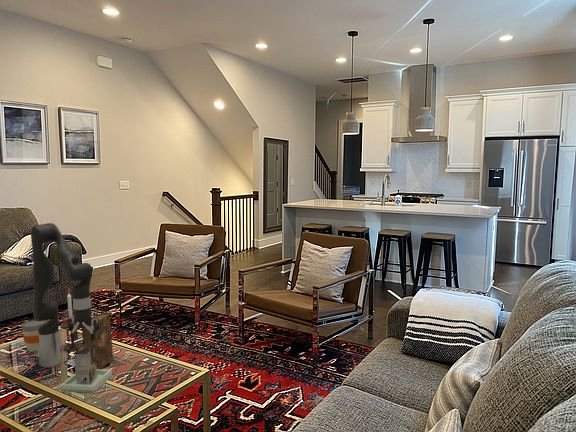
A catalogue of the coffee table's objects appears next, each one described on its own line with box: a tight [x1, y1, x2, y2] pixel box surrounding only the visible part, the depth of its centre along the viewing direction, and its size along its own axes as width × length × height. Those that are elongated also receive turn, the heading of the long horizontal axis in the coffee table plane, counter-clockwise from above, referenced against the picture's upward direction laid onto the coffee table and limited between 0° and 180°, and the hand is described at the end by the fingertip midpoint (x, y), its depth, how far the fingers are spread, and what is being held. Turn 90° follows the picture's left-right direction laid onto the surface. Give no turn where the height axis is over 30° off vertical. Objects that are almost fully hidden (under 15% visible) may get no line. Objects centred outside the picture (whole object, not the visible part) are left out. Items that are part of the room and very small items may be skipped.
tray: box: [59, 369, 113, 394], centre depth 203 cm, size 16×16×3 cm
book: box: [81, 312, 114, 370], centre depth 220 cm, size 16×6×25 cm, turn 168°
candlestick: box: [59, 287, 83, 352], centre depth 242 cm, size 11×11×35 cm
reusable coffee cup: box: [21, 319, 48, 353], centre depth 244 cm, size 13×13×15 cm
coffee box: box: [73, 344, 97, 385], centre depth 202 cm, size 9×6×16 cm
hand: (84, 340), depth 201 cm, fingers open, 8 cm apart
